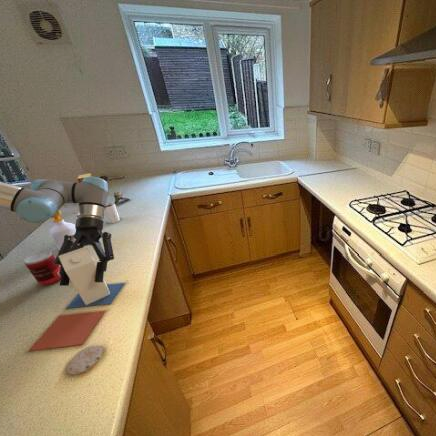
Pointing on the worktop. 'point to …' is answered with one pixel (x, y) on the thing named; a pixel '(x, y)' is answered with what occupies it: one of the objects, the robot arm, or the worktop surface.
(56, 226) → the soap bottle
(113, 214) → the white cup
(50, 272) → the canned food
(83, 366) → the flatbread
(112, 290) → the slate-blue mat
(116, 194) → the artificial flower
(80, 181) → the baking soda box
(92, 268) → the milk carton
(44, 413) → the worktop surface
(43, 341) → the terracotta mat
